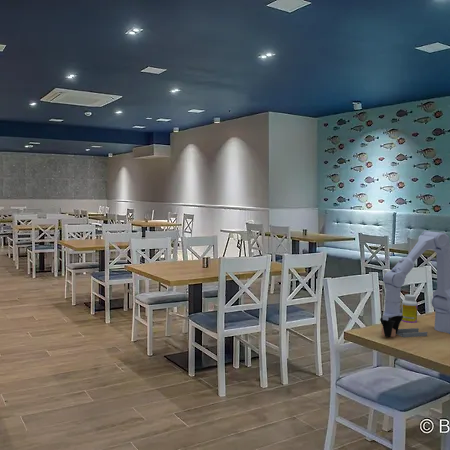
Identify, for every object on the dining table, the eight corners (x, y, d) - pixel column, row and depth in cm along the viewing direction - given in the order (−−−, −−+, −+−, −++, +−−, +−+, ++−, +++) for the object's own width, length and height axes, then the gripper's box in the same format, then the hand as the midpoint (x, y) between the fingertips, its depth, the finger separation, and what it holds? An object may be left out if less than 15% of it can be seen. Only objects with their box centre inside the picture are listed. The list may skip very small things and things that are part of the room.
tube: (417, 334, 210) (417, 328, 210) (427, 338, 204) (427, 332, 204) (393, 335, 207) (394, 329, 207) (402, 340, 201) (403, 333, 201)
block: (390, 327, 206) (381, 327, 205) (395, 329, 202) (386, 330, 201) (390, 336, 206) (381, 337, 205) (395, 339, 202) (385, 339, 201)
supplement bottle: (417, 325, 224) (419, 297, 223) (402, 324, 225) (403, 296, 225) (415, 322, 231) (416, 294, 230) (400, 321, 232) (401, 293, 231)
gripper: (396, 305, 194) (394, 340, 195) (408, 300, 206) (406, 332, 207) (378, 303, 199) (376, 336, 200) (391, 297, 210) (390, 329, 211)
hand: (390, 334), depth 203 cm, fingers open, 7 cm apart
